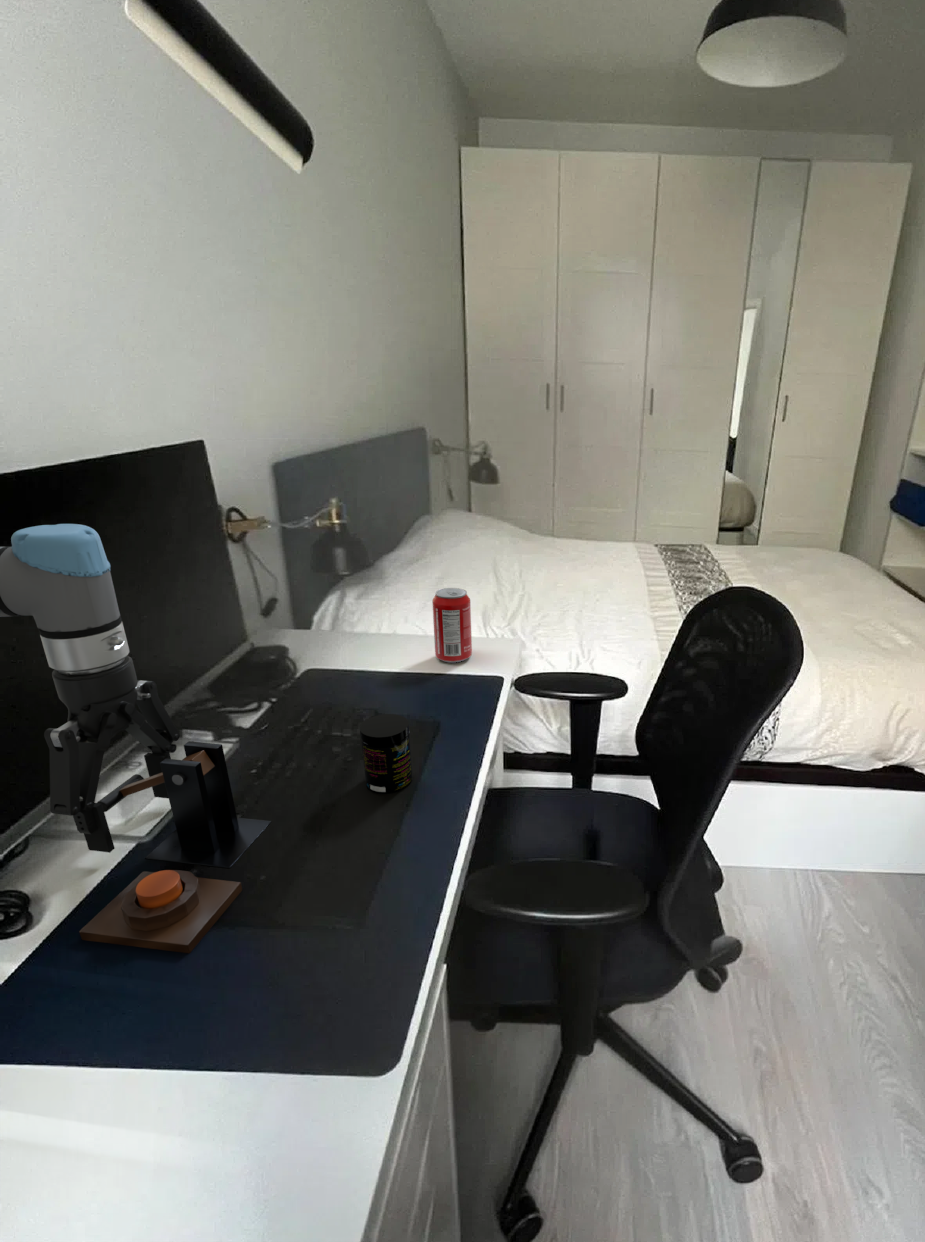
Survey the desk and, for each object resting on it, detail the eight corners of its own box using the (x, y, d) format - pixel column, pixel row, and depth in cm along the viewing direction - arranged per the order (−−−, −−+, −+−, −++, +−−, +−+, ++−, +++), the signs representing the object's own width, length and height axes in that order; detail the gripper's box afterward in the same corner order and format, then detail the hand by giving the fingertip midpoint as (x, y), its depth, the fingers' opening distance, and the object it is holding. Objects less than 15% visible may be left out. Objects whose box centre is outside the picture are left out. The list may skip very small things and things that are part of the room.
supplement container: (420, 776, 98) (416, 716, 94) (403, 802, 92) (397, 739, 88) (378, 771, 99) (372, 711, 95) (358, 797, 93) (350, 734, 89)
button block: (84, 947, 67) (73, 918, 66) (147, 885, 76) (139, 858, 74) (191, 961, 66) (184, 931, 65) (244, 896, 75) (238, 869, 73)
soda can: (446, 668, 135) (443, 600, 129) (428, 656, 141) (425, 590, 135) (478, 659, 140) (477, 593, 134) (460, 648, 145) (458, 584, 140)
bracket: (146, 865, 79) (119, 769, 73) (195, 819, 87) (175, 730, 82) (231, 875, 78) (210, 778, 72) (273, 828, 86) (257, 738, 81)
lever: (103, 816, 78) (90, 800, 78) (139, 788, 84) (128, 773, 83) (192, 785, 75) (180, 768, 74) (224, 757, 81) (214, 741, 80)
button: (129, 907, 68) (126, 894, 67) (157, 880, 72) (153, 867, 71) (165, 911, 68) (161, 898, 67) (191, 884, 71) (187, 871, 71)
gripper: (32, 711, 63) (90, 888, 71) (189, 629, 84) (219, 774, 92) (-37, 704, 64) (28, 881, 72) (136, 625, 85) (170, 769, 93)
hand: (135, 821), depth 82 cm, fingers open, 10 cm apart
